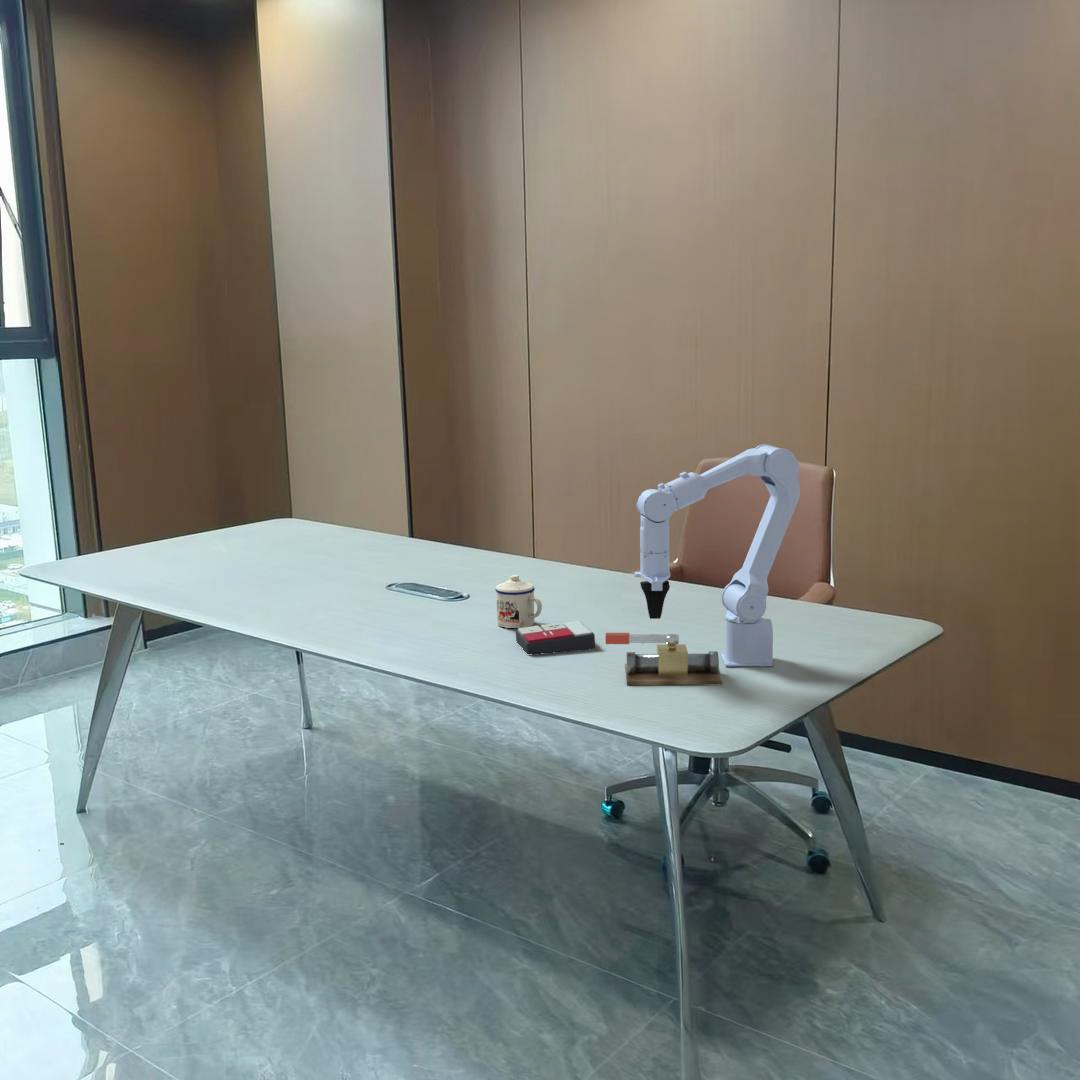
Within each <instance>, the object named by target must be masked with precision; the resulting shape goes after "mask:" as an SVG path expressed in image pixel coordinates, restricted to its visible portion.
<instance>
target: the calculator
mask: <svg viewBox="0 0 1080 1080" xmlns="http://www.w3.org/2000/svg"><path fill="white" fill-rule="evenodd" d="M515 641H517V642H516V644H517V643H518V644H519V645H520V646H521V647H522V648H523V649H522V648H521V647H520V646H519V645H518V644H517V645H518V646H519V647H520V648H521V649H522V651H523V650H524V651H525V652H526V653H527V654H540V655H542V654H541V653H550V654H554V653H553V652H559V653H565V652H564V651H566V652H572V651H576V652H578V651H577V650H581V651H589V649H591V650H595V649H596V636H595V633H594V632H593V631H592V630H591V629H589V628H588V627H587V626H586V625H585V624H584V623H583V622H581V621H580V620H574V621H568V622H553V623H546V624H541V625H540V626H539V625H532V626H530V627H524V628H518V629H516V630H515ZM524 651H523V652H524ZM525 652H524V653H525ZM526 653H525V654H526ZM527 654H526V655H527Z"/></svg>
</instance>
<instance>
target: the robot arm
mask: <svg viewBox="0 0 1080 1080" xmlns="http://www.w3.org/2000/svg"><path fill="white" fill-rule="evenodd" d="M800 469H801V465H800V464H799V461H798V460H797V458H796V456H795V454H794V453H793V452H792V451H791V450H789V449H787V448H784V447H783V448H782V447H781V448H780V447H777V446H773V445H771V444H769V443H763V444H759V445H757V446H756V447H755V448H753V447H752V448H749V449H746V450H744V451H743V452H741V453H739V454H737V455H735V456H733V457H732V458H729V459H727V460H725V461H724V462H721V463H720V464H718V465H716V466H715V467H712V468H710V469H708V470H707V471H706V470H705V472H702V473H701V474H698V473H696V472H693V471H690V472H686V471H683V472H681V473H679V475H678V476H679V477H677V478H675V479H673V480H671V481H669V482H667V483H665V484H664V483H663V482H661V483H659V484H657V489H656V488H655V489H653V488H650V489H649V488H648V489H646V490H644V491H642V492H641V493H640V495H639V497H638V499H637V502H636V503H635V507H636V510H637V512H638V513H639V514H640V515H639V516H640V528H639V537H640V538H639V552H640V553H639V555H640V556H639V558H640V559H639V561H640V562H639V564H640V568H639V570H640V571H634V574H633V575H634V576H633V577H635V578H640V579H641V580H644V581H640V589H641V591H642V593H643V594H644V597H645V600H646V607H647V613H648V616H649V619H650V620H653V619H654V620H655V619H656V620H657V619H658V620H660V619H661V617H662V614H663V608H664V602H665V599H666V596H667V593H668V592H669V591H670V587H671V586H670V581H669V578H671V572H670V518H671V517H672V516H673V513H675V512H677V511H679V510H682V509H683V508H686V507H688V506H690V505H692V504H694V503H698V502H699V501H700V500H703V499H704V498H705V497H706V495H707V492H708V490H710V489H713V488H715V487H717V486H719V485H722V484H725V483H727V482H729V481H732V480H735V479H737V478H740V477H742V476H746V475H747V476H754V477H758V478H760V479H761V480H762V481H763V483H764V485H765V486H766V489H767V491H768V493H769V495H770V497H769V499H768V503H767V504H766V507H765V510H764V512H763V514H762V517H761V519H760V522H759V525H758V527H757V529H756V532H755V535H754V537H753V540H752V542H751V543H750V547H749V550H748V552H747V554H746V558H745V559H744V562H743V565H742V567H741V568H740V569H738V571H736V572H735V573H734V574H733V576H732V579H731V581H730V582H729V583H728V584H727V585H726V586H724V589H723V590H722V593H721V598H720V599H721V603H722V605H723V607H724V608H725V609H726V613H725V616H724V620H725V621H724V652H721V653H720V656H721V658H722V662H723V663H724V666H725V667H773V666H774V664H773V663H774V662H773V659H774V657H773V654H774V653H773V651H774V650H773V646H774V632H773V623H772V620H771V619H770V618H762V617H763V616H764V615H765V613H766V610H767V596H768V593H769V592H770V591H769V590H770V589H769V584H768V577H769V574H770V571H771V570H772V566H773V564H774V562H775V559H776V557H777V554H778V552H779V549H780V547H781V544H782V543H783V539H784V537H785V535H786V533H787V529H788V528H789V526H790V525H789V524H790V522H791V520H792V518H793V515H794V513H795V510H796V507H797V504H798V502H799V500H800V496H801V487H800V479H799V478H800V477H799V471H800Z"/></svg>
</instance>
